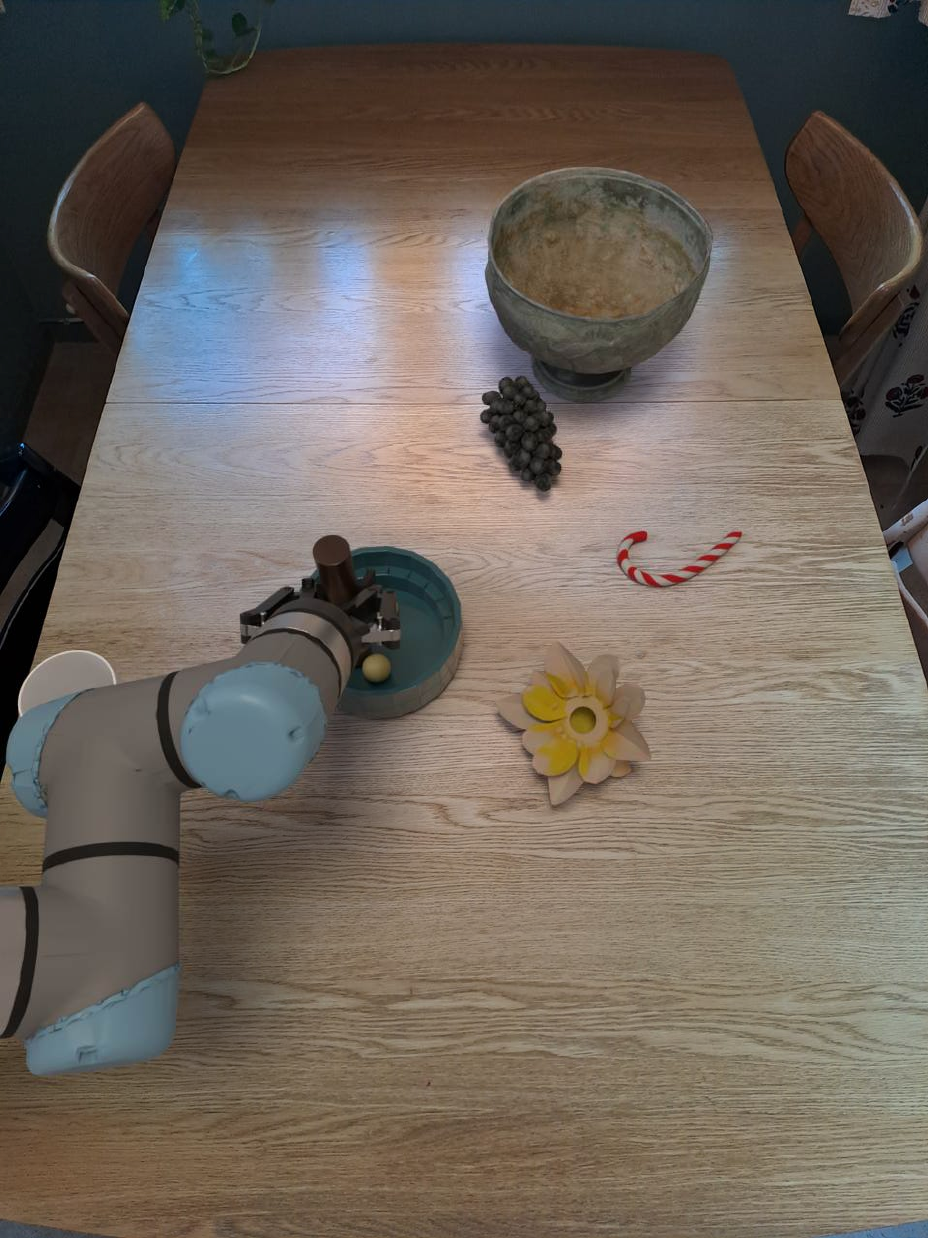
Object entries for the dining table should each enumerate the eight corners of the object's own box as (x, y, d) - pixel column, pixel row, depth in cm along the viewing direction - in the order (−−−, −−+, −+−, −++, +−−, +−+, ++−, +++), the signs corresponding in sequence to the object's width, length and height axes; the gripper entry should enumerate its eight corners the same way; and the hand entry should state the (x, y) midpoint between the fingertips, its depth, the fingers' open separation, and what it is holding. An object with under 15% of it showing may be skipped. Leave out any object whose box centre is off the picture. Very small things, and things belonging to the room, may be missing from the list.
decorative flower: (477, 681, 87) (505, 636, 79) (570, 656, 91) (605, 612, 83) (533, 817, 81) (569, 785, 73) (629, 784, 86) (674, 751, 77)
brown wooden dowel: (353, 672, 88) (326, 572, 71) (336, 651, 89) (304, 547, 72) (378, 654, 89) (357, 551, 72) (360, 634, 90) (335, 528, 73)
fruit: (570, 451, 92) (528, 352, 99) (501, 481, 94) (464, 382, 100) (584, 489, 100) (544, 396, 107) (520, 517, 101) (485, 423, 108)
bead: (373, 691, 88) (374, 683, 85) (356, 669, 89) (356, 660, 86) (396, 675, 89) (397, 666, 86) (379, 653, 89) (380, 644, 87)
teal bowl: (363, 753, 85) (356, 730, 80) (270, 636, 92) (257, 607, 86) (494, 656, 91) (496, 628, 85) (397, 551, 97) (392, 518, 91)
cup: (187, 765, 85) (132, 704, 71) (111, 811, 82) (38, 757, 68) (153, 703, 88) (94, 633, 74) (79, 745, 86) (3, 681, 72)
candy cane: (757, 551, 95) (639, 593, 93) (753, 557, 96) (637, 599, 94) (722, 499, 99) (608, 539, 96) (719, 506, 100) (606, 545, 97)
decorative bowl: (653, 466, 102) (689, 333, 85) (454, 417, 107) (451, 282, 89) (694, 326, 115) (732, 186, 98) (515, 288, 119) (522, 148, 102)
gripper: (194, 702, 63) (272, 614, 85) (411, 711, 62) (432, 621, 85) (188, 606, 61) (270, 542, 83) (412, 614, 60) (434, 548, 83)
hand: (352, 582), depth 84 cm, fingers closed on brown wooden dowel, 3 cm apart
